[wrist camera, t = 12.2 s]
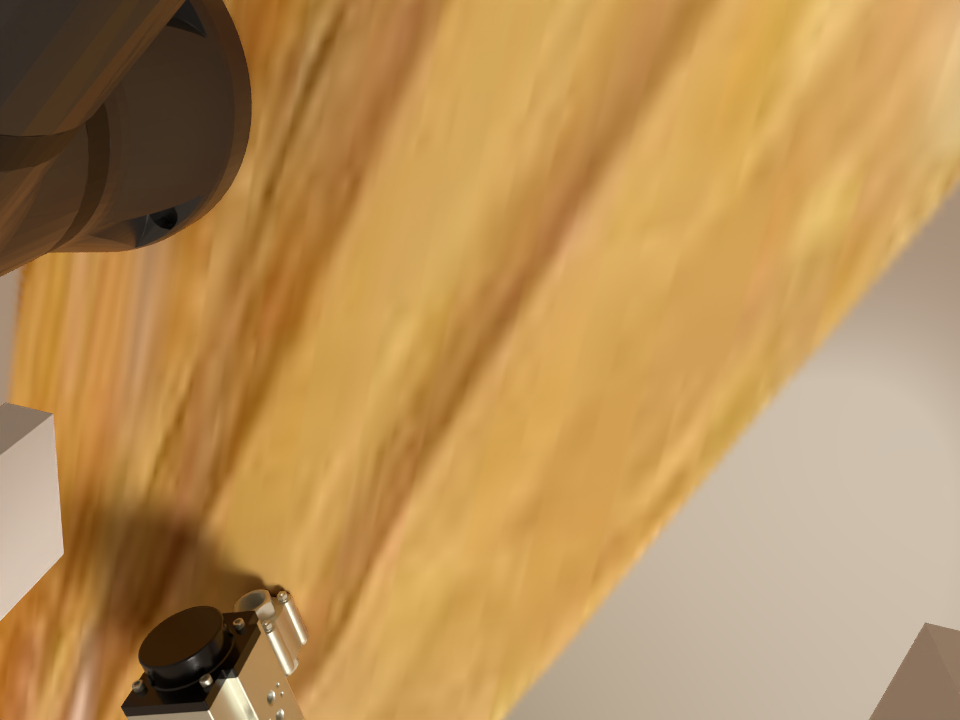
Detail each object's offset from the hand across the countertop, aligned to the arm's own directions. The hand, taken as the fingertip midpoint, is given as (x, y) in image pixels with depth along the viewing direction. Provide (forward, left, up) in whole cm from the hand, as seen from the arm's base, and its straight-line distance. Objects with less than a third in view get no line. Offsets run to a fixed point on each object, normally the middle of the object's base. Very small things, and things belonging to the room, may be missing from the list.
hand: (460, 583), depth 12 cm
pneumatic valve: (-11, -30, -27) cm, 42 cm away
